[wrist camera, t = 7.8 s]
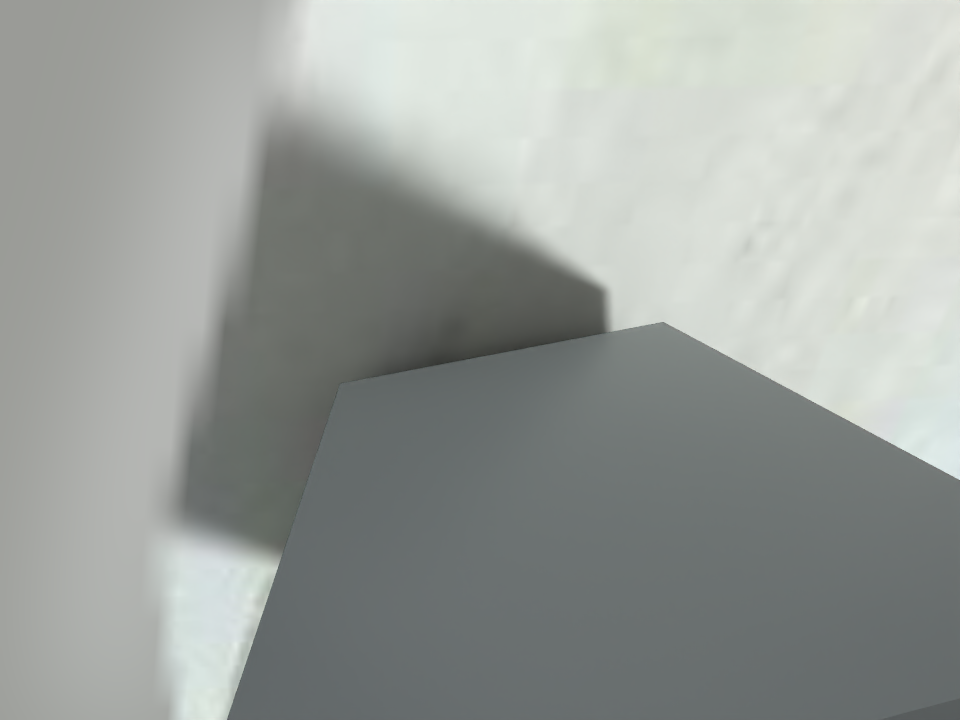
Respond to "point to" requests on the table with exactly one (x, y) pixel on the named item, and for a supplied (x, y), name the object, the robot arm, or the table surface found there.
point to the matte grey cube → (608, 550)
